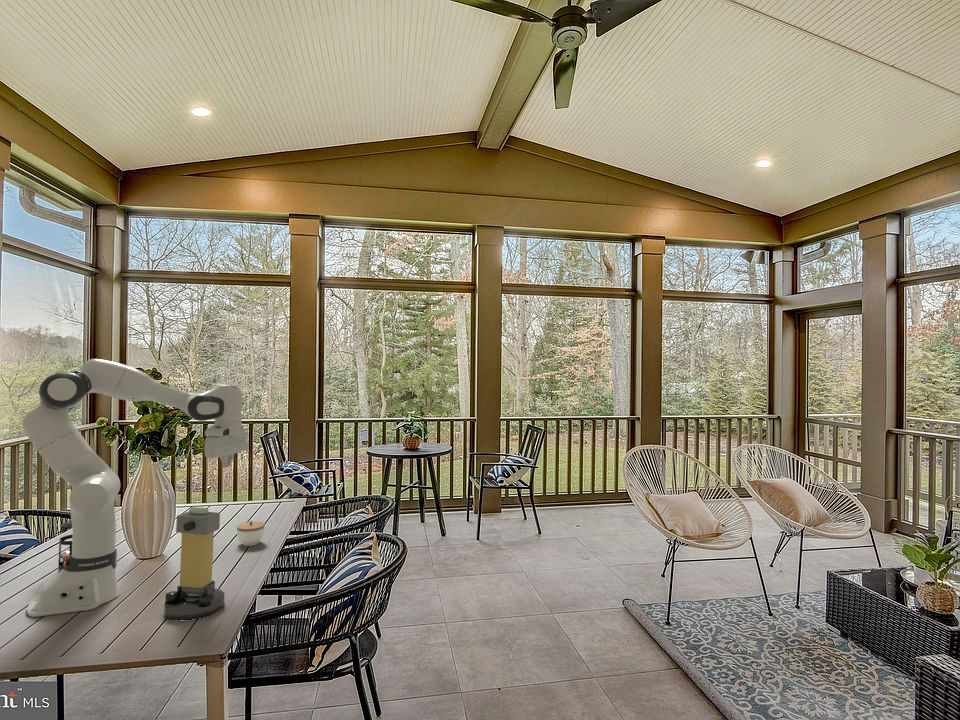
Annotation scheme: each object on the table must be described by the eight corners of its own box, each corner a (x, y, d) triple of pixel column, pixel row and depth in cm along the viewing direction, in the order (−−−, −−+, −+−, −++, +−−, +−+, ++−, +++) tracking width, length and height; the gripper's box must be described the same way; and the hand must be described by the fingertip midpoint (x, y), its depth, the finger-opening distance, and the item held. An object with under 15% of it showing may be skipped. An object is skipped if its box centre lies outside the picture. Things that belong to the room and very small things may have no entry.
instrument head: (199, 602, 153) (202, 512, 154) (168, 599, 155) (172, 510, 156) (216, 591, 161) (220, 506, 162) (187, 588, 163) (190, 504, 164)
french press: (87, 574, 182) (90, 508, 183) (53, 578, 178) (56, 510, 179) (94, 563, 193) (96, 500, 193) (62, 566, 189) (65, 502, 189)
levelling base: (201, 623, 150) (202, 599, 150) (151, 618, 152) (152, 594, 152) (235, 599, 166) (235, 577, 166) (189, 595, 168) (190, 573, 168)
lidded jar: (230, 545, 216) (231, 522, 216) (252, 538, 226) (253, 516, 226) (248, 549, 211) (248, 526, 211) (269, 542, 221) (270, 520, 221)
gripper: (237, 425, 202) (236, 461, 201) (201, 431, 181) (200, 471, 181) (252, 426, 201) (251, 462, 200) (218, 432, 180) (216, 472, 180)
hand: (226, 467), depth 191 cm, fingers closed
